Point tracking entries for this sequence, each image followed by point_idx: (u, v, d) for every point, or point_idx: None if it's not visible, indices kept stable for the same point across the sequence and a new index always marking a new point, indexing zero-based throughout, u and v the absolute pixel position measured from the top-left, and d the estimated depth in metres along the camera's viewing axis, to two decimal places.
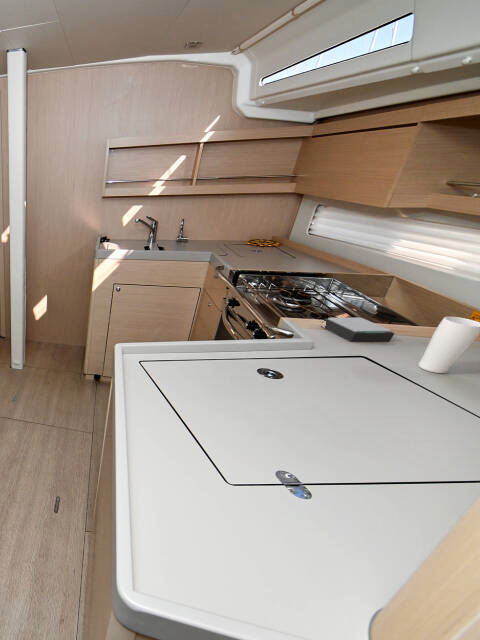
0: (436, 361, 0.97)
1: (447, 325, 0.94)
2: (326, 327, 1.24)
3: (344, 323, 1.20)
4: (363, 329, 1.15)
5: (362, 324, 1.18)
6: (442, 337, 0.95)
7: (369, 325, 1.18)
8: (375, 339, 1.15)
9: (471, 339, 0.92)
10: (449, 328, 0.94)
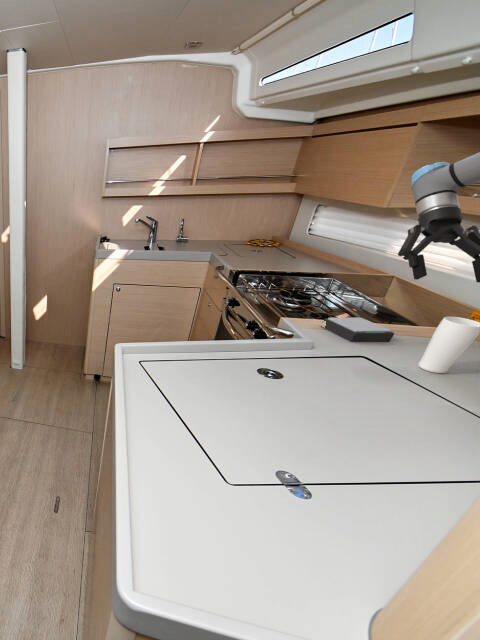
0: (436, 361, 0.97)
1: (447, 325, 0.94)
2: (326, 327, 1.24)
3: (344, 323, 1.20)
4: (363, 329, 1.15)
5: (362, 324, 1.18)
6: (442, 337, 0.95)
7: (369, 325, 1.18)
8: (375, 339, 1.15)
9: (471, 339, 0.92)
10: (449, 328, 0.94)
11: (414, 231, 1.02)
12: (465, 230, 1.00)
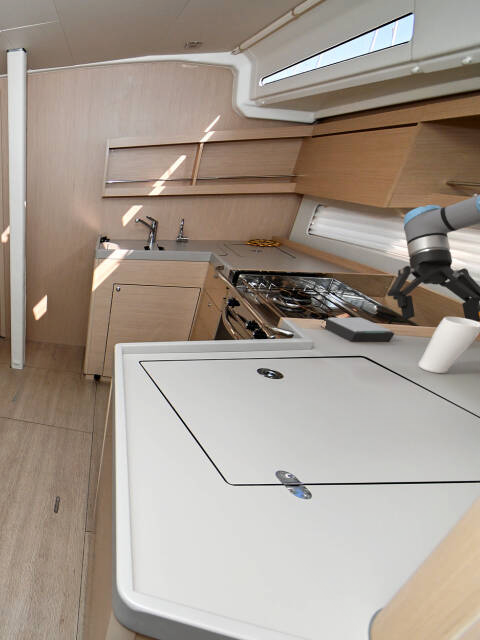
0: (436, 361, 0.97)
1: (447, 325, 0.94)
2: (326, 327, 1.24)
3: (344, 323, 1.20)
4: (363, 329, 1.15)
5: (362, 324, 1.18)
6: (442, 337, 0.95)
7: (369, 325, 1.18)
8: (375, 339, 1.15)
9: (471, 339, 0.92)
10: (449, 328, 0.94)
11: (403, 272, 1.04)
12: (456, 273, 1.02)
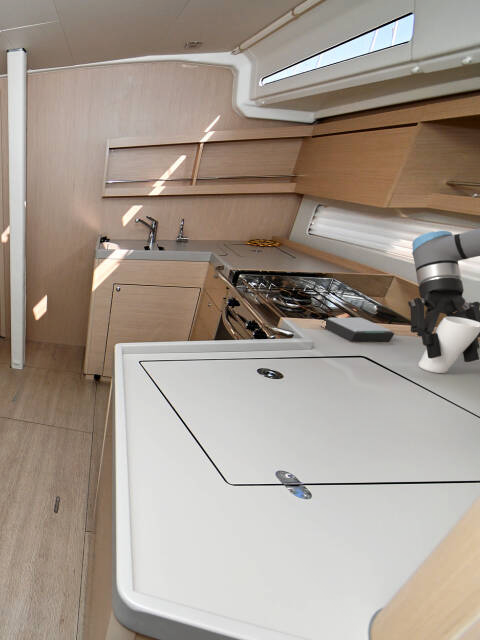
0: (436, 361, 0.97)
1: (447, 325, 0.94)
2: (326, 327, 1.24)
3: (344, 323, 1.20)
4: (363, 329, 1.15)
5: (362, 324, 1.18)
6: (442, 337, 0.95)
7: (369, 325, 1.18)
8: (375, 339, 1.15)
9: (471, 339, 0.92)
10: (449, 328, 0.94)
11: (416, 305, 1.00)
12: (467, 304, 0.97)
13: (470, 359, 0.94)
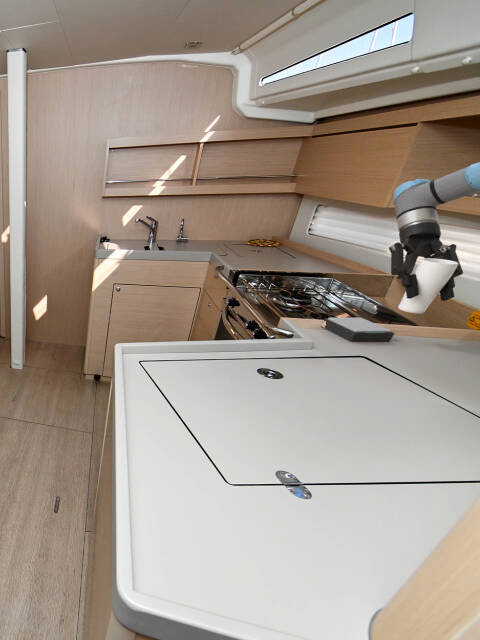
0: (414, 302, 1.02)
1: (425, 265, 0.98)
2: (326, 327, 1.24)
3: (344, 323, 1.20)
4: (363, 329, 1.15)
5: (362, 324, 1.18)
6: (420, 277, 1.00)
7: (369, 325, 1.18)
8: (375, 339, 1.15)
9: (447, 277, 0.97)
10: (426, 268, 0.98)
11: (396, 249, 1.04)
12: (444, 247, 1.02)
13: (446, 297, 0.98)
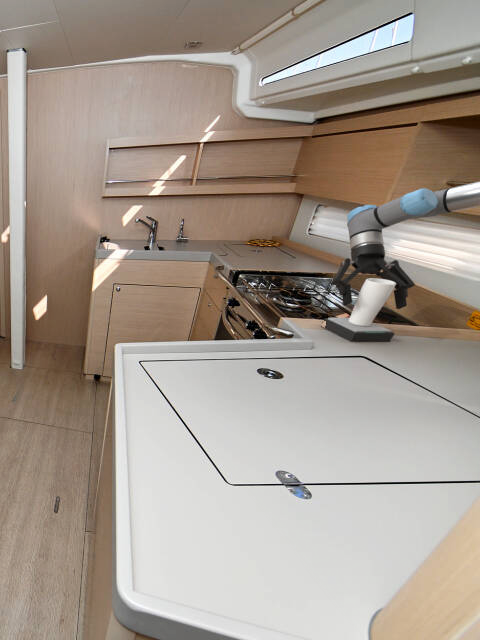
0: (361, 316, 1.16)
1: (368, 284, 1.13)
2: (326, 327, 1.24)
3: (344, 323, 1.20)
4: (363, 329, 1.15)
5: None
6: (364, 295, 1.14)
7: (369, 325, 1.18)
8: (375, 339, 1.15)
9: (386, 295, 1.11)
10: (369, 287, 1.12)
11: (344, 264, 1.19)
12: (388, 264, 1.16)
13: (400, 306, 1.12)
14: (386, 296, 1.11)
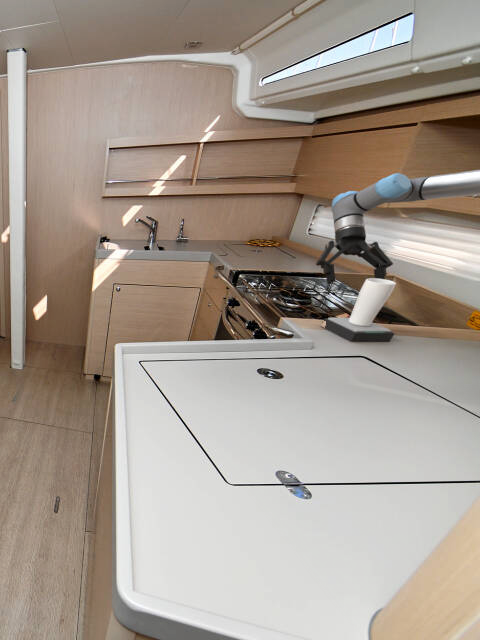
0: (361, 316, 1.16)
1: (368, 284, 1.13)
2: (326, 327, 1.24)
3: (344, 323, 1.20)
4: (363, 329, 1.15)
5: None
6: (364, 295, 1.14)
7: (369, 325, 1.18)
8: (375, 339, 1.15)
9: (386, 295, 1.11)
10: (369, 287, 1.13)
11: (328, 245, 1.28)
12: (369, 245, 1.25)
13: None
14: (386, 296, 1.11)
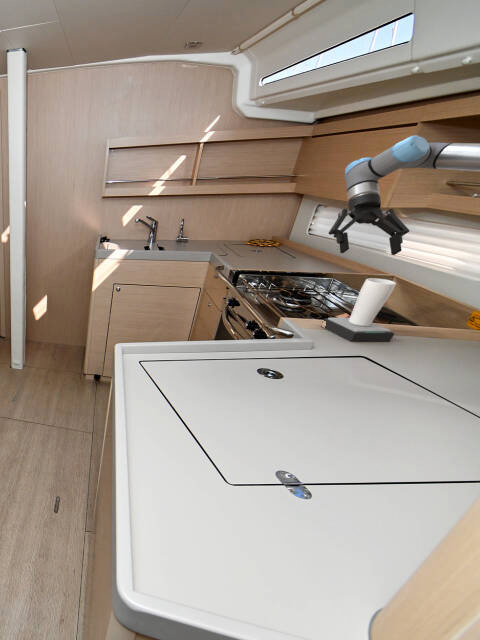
0: (361, 316, 1.16)
1: (368, 284, 1.13)
2: (326, 327, 1.24)
3: (344, 323, 1.20)
4: (363, 329, 1.15)
5: None
6: (364, 295, 1.14)
7: (369, 325, 1.18)
8: (375, 339, 1.15)
9: (386, 295, 1.11)
10: (369, 287, 1.13)
11: (342, 214, 1.23)
12: (384, 213, 1.20)
13: (395, 251, 1.16)
14: (386, 296, 1.11)
